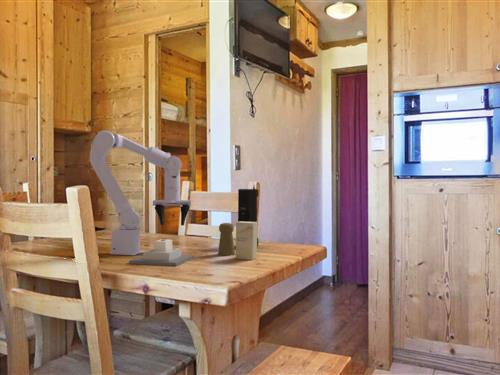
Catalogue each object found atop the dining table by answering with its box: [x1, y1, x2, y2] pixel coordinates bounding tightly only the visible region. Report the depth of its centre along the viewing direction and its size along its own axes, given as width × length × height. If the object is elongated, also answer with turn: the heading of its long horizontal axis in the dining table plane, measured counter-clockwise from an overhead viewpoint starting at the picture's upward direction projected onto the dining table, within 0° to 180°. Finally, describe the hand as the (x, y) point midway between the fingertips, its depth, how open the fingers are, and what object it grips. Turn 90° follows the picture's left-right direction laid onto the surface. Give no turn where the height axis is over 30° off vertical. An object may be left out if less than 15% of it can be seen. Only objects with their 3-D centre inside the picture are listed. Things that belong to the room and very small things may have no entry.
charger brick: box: [153, 238, 173, 252], centre depth 139 cm, size 4×5×6 cm
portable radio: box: [237, 186, 259, 248], centre depth 168 cm, size 8×6×25 cm
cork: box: [217, 222, 236, 257], centre depth 151 cm, size 6×6×11 cm
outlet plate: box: [128, 247, 195, 267], centre depth 138 cm, size 16×14×4 cm
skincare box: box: [235, 221, 258, 261], centre depth 142 cm, size 6×4×12 cm
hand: (172, 225), depth 159 cm, fingers open, 7 cm apart
